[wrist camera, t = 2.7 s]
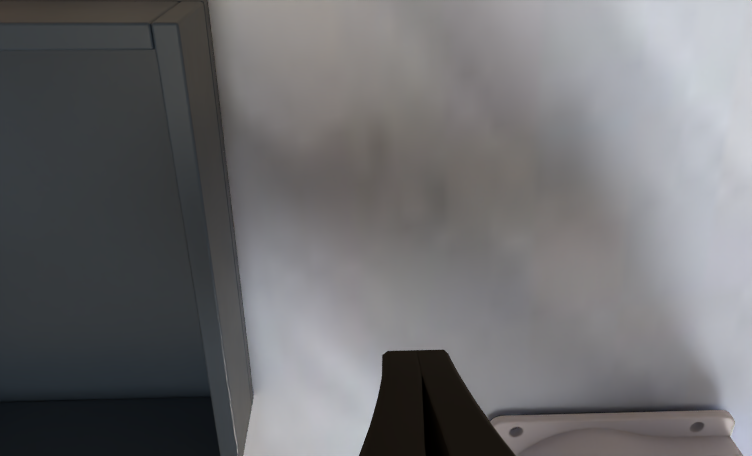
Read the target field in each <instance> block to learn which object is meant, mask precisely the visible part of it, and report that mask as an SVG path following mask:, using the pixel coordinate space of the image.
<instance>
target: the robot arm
mask: <svg viewBox="0 0 752 456" xmlns="http://www.w3.org/2000/svg"><path fill="white" fill-rule="evenodd" d="M734 425H735V421H734V419H733V417H732V416H731V414H730V413H729V412H727V411H725V410H703V411H665V412H627V413H589V414H551V415H513V416H498V417H495V418H493V419H492V420H491V421H489V420H488V418H487V417H486V415H485V414H484V413H483V411H482V410H481V408H480V407H479V405H478V404H477V402H476V401H475V399H474V398H473V396H472V395H471V393H470V392H469V390H468V388H467V387H466V385H465V384H464V382H463V380H462V379H461V377H460V375H459V373H458V372H457V370H456V368H455V366H454V364H453V362H452V360H451V359H450V356H449V354H448V353H447V352H446V351H445V350H411V351H387V352H386V353H385V354H383V355H382V379H381V385H380V390H379V395H378V399H377V403H376V406H375V410H374V413H373V417H372V421H371V424H370V427H369V430H368V433H367V435H366V438H365V441H364V444H363V446H362V449H361V452H360V454H359V456H743V455H742V453H741V452H740V450H739V449H738V447H737V446H736V445H735V443H734V442H733V440H732V439H731V437H730V435H731V433H732V430H733V427H734ZM514 427H518V428H515V429H512V428H514Z"/></svg>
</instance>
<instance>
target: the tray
mask: <svg viewBox="0 0 752 456" xmlns="http://www.w3.org/2000/svg"><path fill="white" fill-rule="evenodd" d="M253 398H254V397H253V389H252V380H251V371H250V363H249V354H248V346H247V337H246V328H245V320H244V311H243V303H242V294H241V285H240V277H239V268H238V260H237V251H236V242H235V234H234V225H233V216H232V208H231V199H230V191H229V182H228V173H227V165H226V156H225V148H224V139H223V130H222V122H221V113H220V105H219V96H218V87H217V79H216V70H215V62H214V53H213V44H212V36H211V27H210V19H209V10H208V1H207V0H0V456H243V454H244V448H245V442H246V437H247V431H248V425H249V420H250V414H251V408H252V403H253Z"/></svg>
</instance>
